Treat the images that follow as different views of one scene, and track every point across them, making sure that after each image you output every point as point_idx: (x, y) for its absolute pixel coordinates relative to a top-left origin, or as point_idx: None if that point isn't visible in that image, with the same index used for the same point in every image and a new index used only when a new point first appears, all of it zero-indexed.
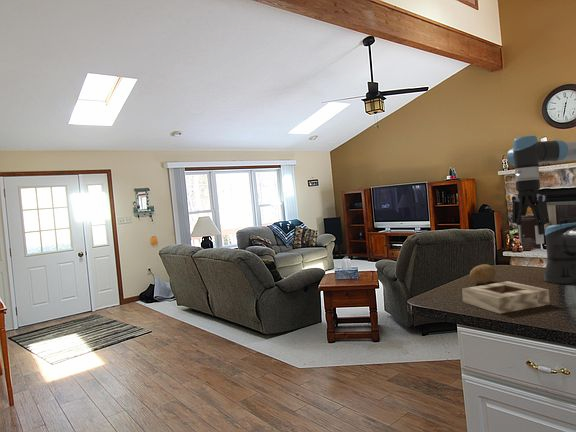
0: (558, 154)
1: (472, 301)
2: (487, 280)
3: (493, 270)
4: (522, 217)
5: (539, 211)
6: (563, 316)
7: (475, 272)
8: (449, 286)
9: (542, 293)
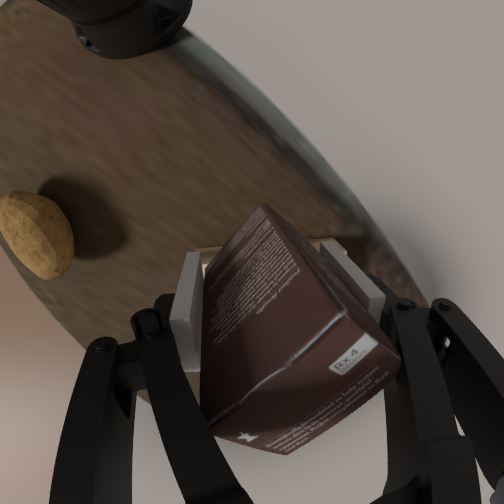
0: None
1: None
2: (73, 237)
3: (45, 214)
4: (296, 444)
5: (457, 414)
6: (396, 275)
7: (56, 277)
8: (59, 309)
9: None
